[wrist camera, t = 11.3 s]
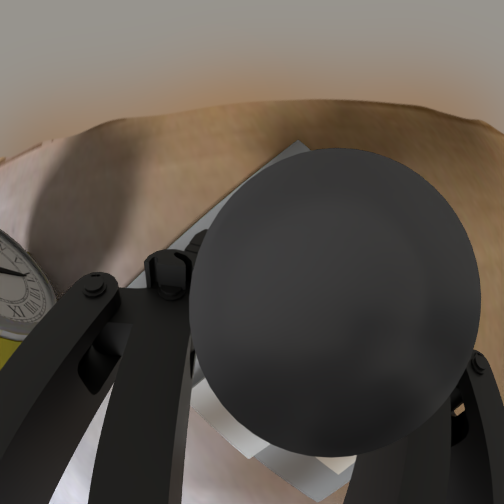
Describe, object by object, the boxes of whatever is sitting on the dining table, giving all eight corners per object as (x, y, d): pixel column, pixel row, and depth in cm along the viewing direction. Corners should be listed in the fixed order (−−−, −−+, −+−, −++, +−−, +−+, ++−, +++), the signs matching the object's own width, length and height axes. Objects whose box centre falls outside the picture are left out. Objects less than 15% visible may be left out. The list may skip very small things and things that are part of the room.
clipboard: (468, 340, 17) (486, 341, 15) (316, 496, 15) (321, 512, 13) (296, 146, 21) (300, 129, 18) (119, 302, 19) (102, 300, 16)
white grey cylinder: (330, 308, 16) (509, 294, 3) (278, 358, 15) (339, 500, 3) (282, 257, 16) (347, 104, 4) (229, 305, 16) (124, 291, 3)
